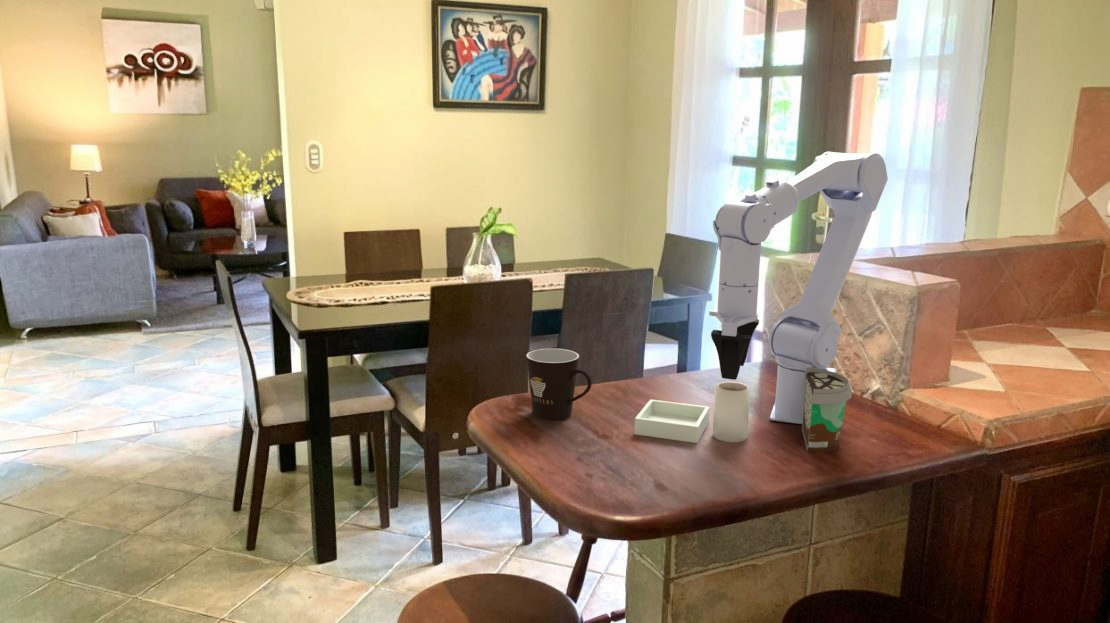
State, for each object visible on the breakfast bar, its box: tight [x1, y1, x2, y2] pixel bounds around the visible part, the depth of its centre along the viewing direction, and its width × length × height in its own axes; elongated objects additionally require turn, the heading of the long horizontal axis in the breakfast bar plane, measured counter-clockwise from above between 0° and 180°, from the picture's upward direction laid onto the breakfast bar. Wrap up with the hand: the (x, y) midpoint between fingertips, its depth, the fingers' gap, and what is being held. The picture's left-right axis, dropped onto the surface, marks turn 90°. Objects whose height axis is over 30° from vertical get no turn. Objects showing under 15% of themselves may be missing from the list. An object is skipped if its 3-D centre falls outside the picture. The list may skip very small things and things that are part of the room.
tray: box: [634, 399, 711, 444], centre depth 130 cm, size 10×10×3 cm
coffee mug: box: [525, 348, 592, 421], centre depth 133 cm, size 12×9×10 cm
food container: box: [801, 367, 853, 453], centre depth 124 cm, size 12×6×10 cm, turn 168°
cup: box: [712, 381, 751, 443], centre depth 126 cm, size 5×5×8 cm
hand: (733, 371), depth 124 cm, fingers open, 7 cm apart
